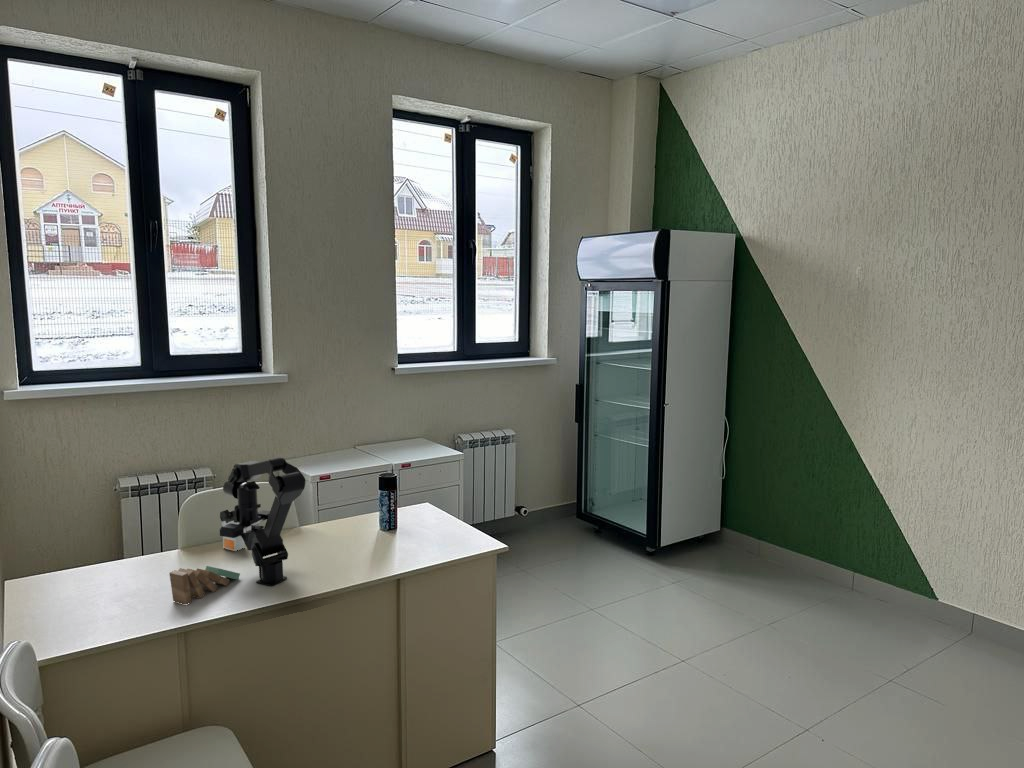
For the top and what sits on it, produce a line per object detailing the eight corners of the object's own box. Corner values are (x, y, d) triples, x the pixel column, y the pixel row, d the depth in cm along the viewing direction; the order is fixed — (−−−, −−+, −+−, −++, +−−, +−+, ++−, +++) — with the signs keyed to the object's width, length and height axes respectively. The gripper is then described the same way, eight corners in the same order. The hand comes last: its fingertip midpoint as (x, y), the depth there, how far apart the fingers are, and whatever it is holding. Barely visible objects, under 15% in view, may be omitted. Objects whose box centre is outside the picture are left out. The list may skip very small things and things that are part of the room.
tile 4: (192, 590, 204) (180, 568, 200) (205, 593, 202) (193, 570, 198) (188, 595, 203) (175, 572, 198) (200, 598, 201) (188, 575, 196)
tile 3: (205, 583, 208) (187, 568, 202) (217, 586, 206) (200, 571, 200) (201, 589, 207) (183, 574, 201) (214, 592, 205) (196, 577, 199)
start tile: (228, 571, 217) (206, 565, 209) (240, 573, 215) (219, 568, 207) (226, 576, 216) (204, 571, 209) (238, 579, 214) (216, 574, 206)
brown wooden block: (178, 599, 200) (174, 570, 198) (191, 602, 198) (187, 572, 196) (173, 602, 198) (169, 572, 196) (186, 605, 196) (182, 575, 194)
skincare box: (222, 548, 240) (220, 514, 239) (233, 544, 244) (231, 511, 242) (235, 551, 237) (233, 517, 236) (245, 547, 241) (243, 514, 239)
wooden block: (217, 577, 212) (197, 568, 205) (230, 580, 210) (209, 571, 203) (215, 583, 211) (194, 574, 204) (227, 585, 209) (206, 577, 202)
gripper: (249, 491, 230) (251, 537, 232) (204, 507, 213) (207, 556, 215) (276, 495, 226) (278, 541, 228) (232, 511, 209) (235, 561, 211)
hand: (250, 550), depth 220 cm, fingers closed
